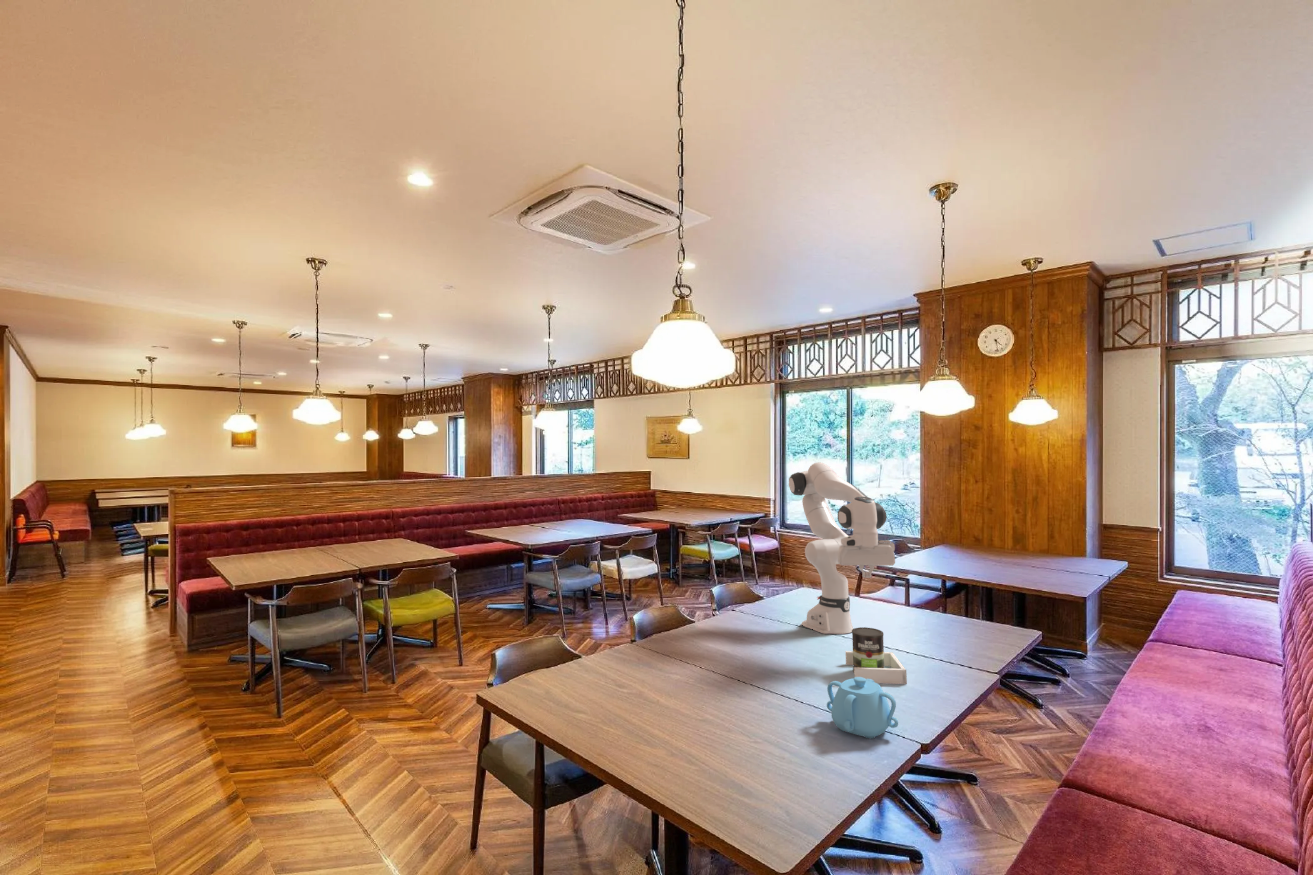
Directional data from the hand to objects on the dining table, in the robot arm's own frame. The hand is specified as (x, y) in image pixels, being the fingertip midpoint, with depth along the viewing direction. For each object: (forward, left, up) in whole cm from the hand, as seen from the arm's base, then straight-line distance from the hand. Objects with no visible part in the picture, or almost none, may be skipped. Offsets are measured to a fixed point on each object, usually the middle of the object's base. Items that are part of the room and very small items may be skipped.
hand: (866, 577), depth 215 cm
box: (+11, -15, -29) cm, 35 cm away
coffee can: (+10, -16, -29) cm, 35 cm away
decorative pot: (+32, -53, -29) cm, 69 cm away
